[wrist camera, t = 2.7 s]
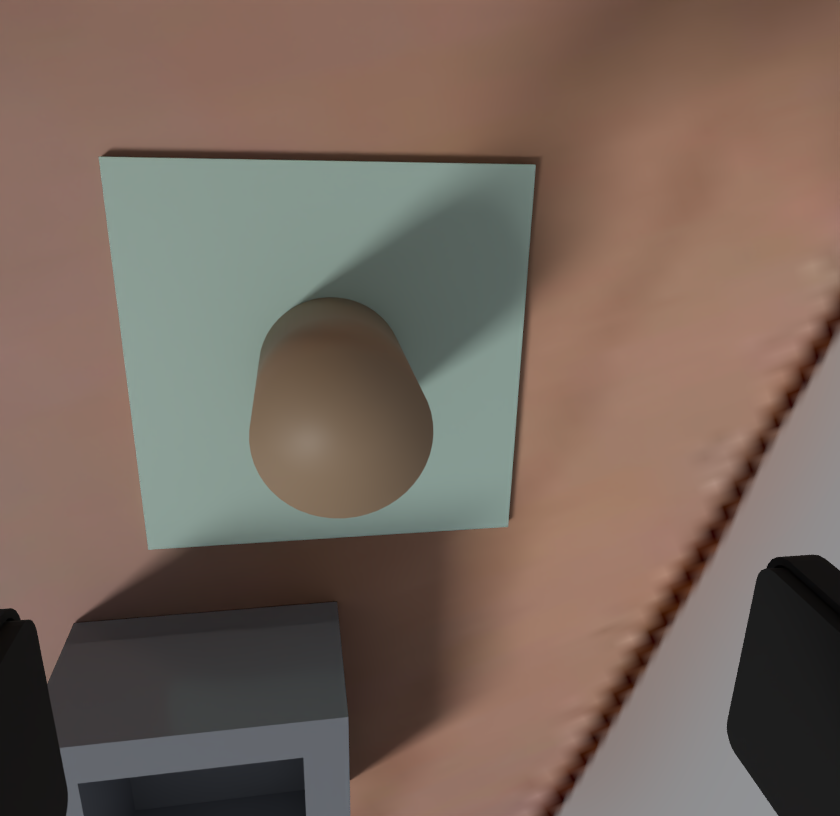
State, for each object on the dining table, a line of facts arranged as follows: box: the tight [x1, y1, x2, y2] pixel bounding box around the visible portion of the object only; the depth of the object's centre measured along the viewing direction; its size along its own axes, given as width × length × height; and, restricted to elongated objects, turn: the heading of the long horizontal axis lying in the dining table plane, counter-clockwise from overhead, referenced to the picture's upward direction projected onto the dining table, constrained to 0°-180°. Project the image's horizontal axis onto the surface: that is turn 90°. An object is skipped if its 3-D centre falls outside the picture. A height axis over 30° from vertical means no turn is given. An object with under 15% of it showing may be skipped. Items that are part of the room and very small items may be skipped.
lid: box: [99, 156, 536, 550], centre depth 19 cm, size 11×11×6 cm
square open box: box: [47, 602, 350, 816], centre depth 22 cm, size 8×8×5 cm
